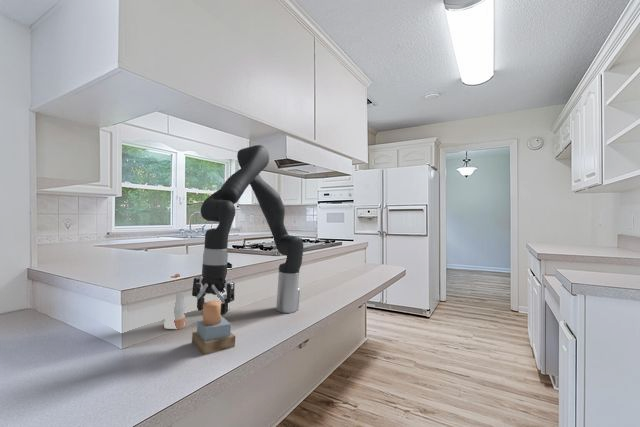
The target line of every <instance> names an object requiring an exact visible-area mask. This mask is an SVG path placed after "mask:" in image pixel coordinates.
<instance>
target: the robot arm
mask: <svg viewBox="0 0 640 427" xmlns="http://www.w3.org/2000/svg"><path fill="white" fill-rule="evenodd" d="M236 154H237V155H236V158H237V163H238V165H239V169H238V170H237V171H235V172H234V173H232V174H231V175H230V176H229V177H228V178H227V179H226V181H225V182H224V183H223V184H222V186H221V187H220V189H218V190H216V191H215V192H214V193H212V194H211V195H209V196H208V197H207V198H206V199H205V200H204V201H203V203H202V205H201V207H200V216H201V217H202V219H204V220H205V221H208V222H215V223H216V222H217V223H218V224H217V226H216V228H209V229H207V230H206V232H205V235H204V247H203V253H202V269H201V276H198V277H194V278H193V281H192V283H193V284H192V293H191V297H195V298H196V301H197V302H196V309H197V311H198V312H199V311H203V304H204V303H205V296H206V295H207V294H208V295H210V294H211V295H214V296H215V295H217V297H218V298H220V300H221V302H222V304H221V312H220V315H221V316H224V315H226V314H227V313H228V311H229V310H228V303H231V302H234V301H235V282H234V281H231V283H227V282H226V280H225V278H226V275H227V262H228V257H229V255H228V252H229V251H228V243H229V234H230V231H231V228H232V225H233V223H234V220H235V216H236V206H235V204H237V203H238V202H239V200H240V199H241V197H242V195H243V194H244V192H245V191H246V189H247V188H248V187H249V186H250V187H251V189H252V191H253V194H254V195H255V198H256V199H257V202H258V205H259V208H260V209H261V212H262V214H263V215H264V218H265V221H266V223H267V225H268V227H269V229H270V231H271V234H272V238H273V240H274V244H275V247H276V250H277V251H278V253H279V254H280V255H282V256H286V259H285V261H284V262H283V263H280V264H279V266H278V276H277V278H278V279H277V290H276V307H275V310H276V311H277V312H279V313H285V314H288V313H289V314H291V313H294V312H295V313H296V312H297V311H299V310H300V309H299V308H300V297H301V296H300V295H301V294H300V293H301V289H300V288H299V286H300V284H299V283H300V282H299V281H300V269H301V266H302V263H303V256H304V242H303V240H302V238H301V237H299V236H296V235H290V234H289V233H288V231H287V228H286V226H285V223H284V222H285V214H286V213H285V212H286V211H285V206H284V203H283V200H282V197H281V196H280V194H279V193H278V192H277V190H275V189H274V188H273V187H272V186H271V185H269V183H267V182H266V181H265V180H264V179H263V178H262V177H261V175H260V173H261V172H263V170H265V169H266V167H267V166H268V165H269V162H270V154H269V152H268V150H267V148H266V146H263V145H261V144H258V145H257V144H256V145H253V146H249V147H244V148H241V149H239V150H238V151H237V153H236ZM201 287H202V288H201ZM225 287H226V289H227V292H226V290H225ZM221 292H222V294H221Z"/></svg>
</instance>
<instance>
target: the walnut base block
mask: <svg viewBox="0 0 640 427" xmlns="http://www.w3.org/2000/svg"><path fill="white" fill-rule="evenodd" d="M191 336H192V337H191V344H192V345H193V346H195V348H197V350H198V351H199V352H200V353H202V355H204V356H207V355H209V354H210V355H211V354H213V353H218V352H221V351H225V350H229V349H232V348H235V347H236V335H235V334H233V333H232V332H231V331H230V336H229V337H224V338H219V339H214V340H209V341H204V340H203V339H202V338H201V336H200V335H199V334H198V333H197V330H196V331H192V333H191Z"/></svg>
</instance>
